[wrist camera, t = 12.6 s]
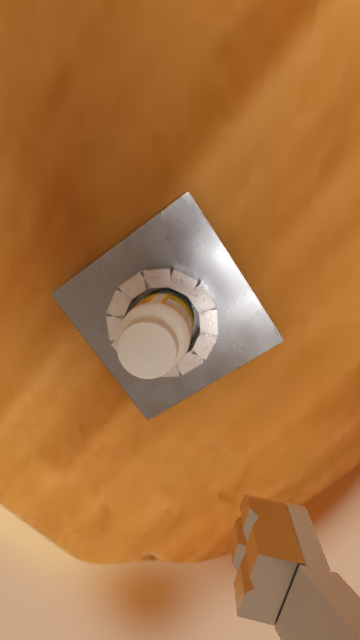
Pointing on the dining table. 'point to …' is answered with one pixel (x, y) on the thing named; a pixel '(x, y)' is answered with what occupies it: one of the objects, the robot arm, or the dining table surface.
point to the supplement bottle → (155, 334)
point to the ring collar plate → (183, 277)
